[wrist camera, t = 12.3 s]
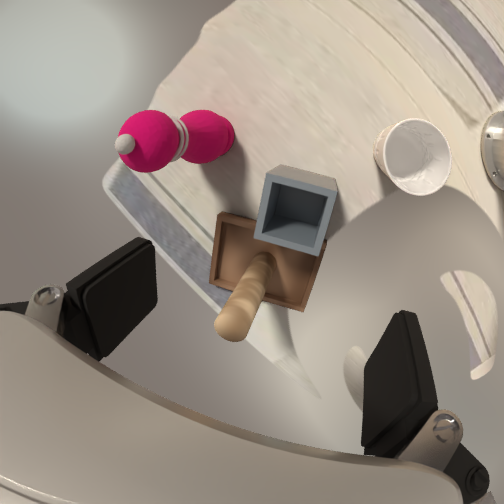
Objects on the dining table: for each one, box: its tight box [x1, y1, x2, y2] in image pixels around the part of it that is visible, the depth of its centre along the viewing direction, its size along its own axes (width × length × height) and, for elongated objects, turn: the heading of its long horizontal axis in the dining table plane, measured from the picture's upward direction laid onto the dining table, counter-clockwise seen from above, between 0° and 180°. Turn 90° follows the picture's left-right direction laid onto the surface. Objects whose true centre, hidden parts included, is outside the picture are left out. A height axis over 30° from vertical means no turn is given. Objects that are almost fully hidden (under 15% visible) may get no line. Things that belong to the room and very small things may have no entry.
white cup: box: [373, 118, 452, 196], centre depth 26 cm, size 8×8×10 cm
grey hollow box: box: [254, 165, 338, 256], centre depth 33 cm, size 8×8×9 cm
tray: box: [209, 212, 327, 312], centre depth 41 cm, size 16×12×2 cm
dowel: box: [214, 251, 277, 342], centre depth 34 cm, size 4×4×16 cm
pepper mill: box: [115, 110, 234, 173], centre depth 27 cm, size 7×7×20 cm
